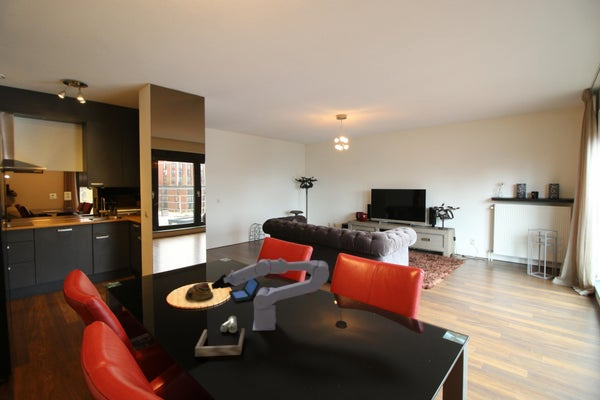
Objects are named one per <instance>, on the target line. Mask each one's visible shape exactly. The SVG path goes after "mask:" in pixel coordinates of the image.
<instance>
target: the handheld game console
mask: <svg viewBox="0 0 600 400" xmlns="http://www.w3.org/2000/svg"><path fill="white" fill-rule="evenodd" d="M259 286H260V281H258V279H256V278H253V279H251V280H248V281H246V282H245V284H244V286H243V287H242V288H240V289H233V290H229V292H228V293H229V295H230V297H231V298H232V300H233V301H234V303H236V304H240V303H243V302H248V301H253V300H254V298H253V297H254V296H255V295H256V294H255V293H257V290H258V288H259Z"/></svg>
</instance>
